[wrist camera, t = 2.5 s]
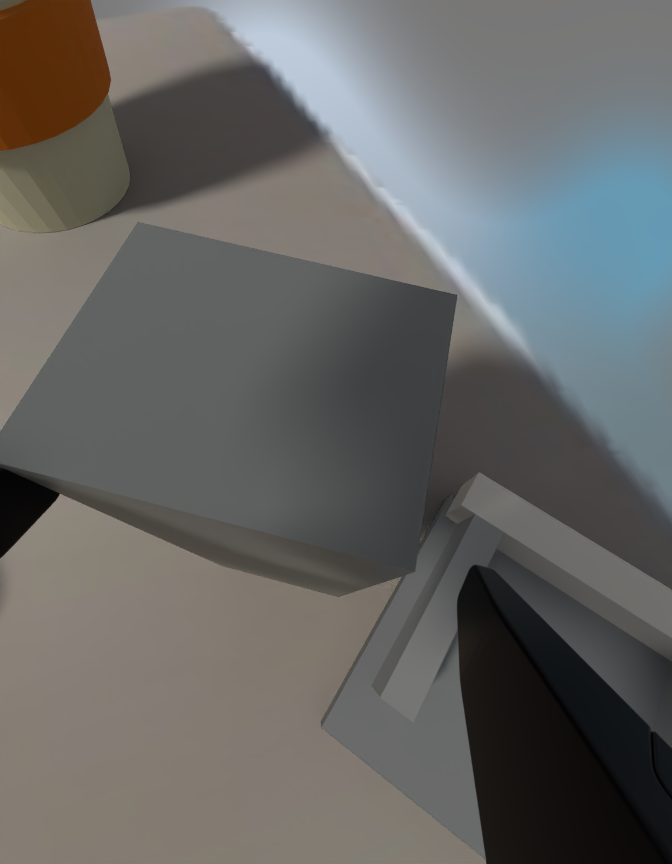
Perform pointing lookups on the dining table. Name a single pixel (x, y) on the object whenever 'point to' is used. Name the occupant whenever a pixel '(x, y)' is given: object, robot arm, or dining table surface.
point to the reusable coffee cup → (56, 118)
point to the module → (246, 409)
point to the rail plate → (438, 643)
